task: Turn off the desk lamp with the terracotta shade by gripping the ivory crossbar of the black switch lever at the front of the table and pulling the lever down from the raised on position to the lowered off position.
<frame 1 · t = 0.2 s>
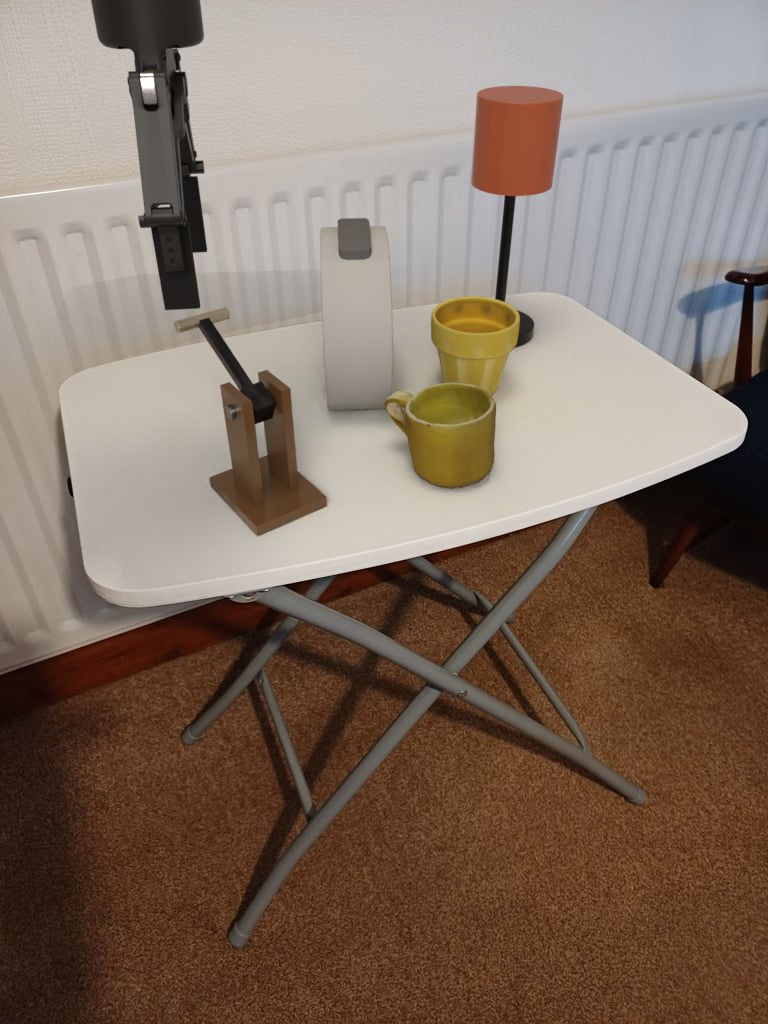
hand: (188, 277, 68), 23 cm above the table, tool pointing down, fingers open, 13 cm apart
flower pot: (470, 388, 98), on the table
mug: (436, 463, 85), on the table
wooden lever stand: (267, 496, 80), on the table
switch lever: (231, 363, 75), point 13 cm above the table, hinge at 25.0°
lamp: (497, 332, 110), on the table
alarm clock: (357, 383, 99), on the table
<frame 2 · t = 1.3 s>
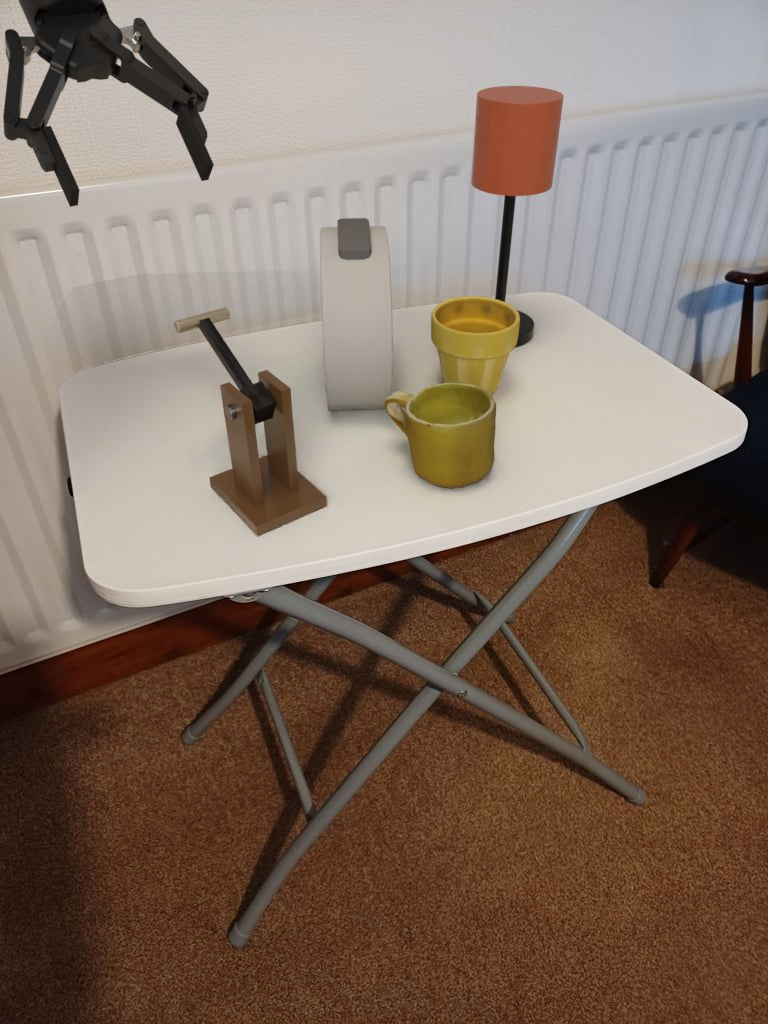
hand: (144, 185, 77), 26 cm above the table, tool tilted 45°, fingers open, 13 cm apart
nothing on the table moved.
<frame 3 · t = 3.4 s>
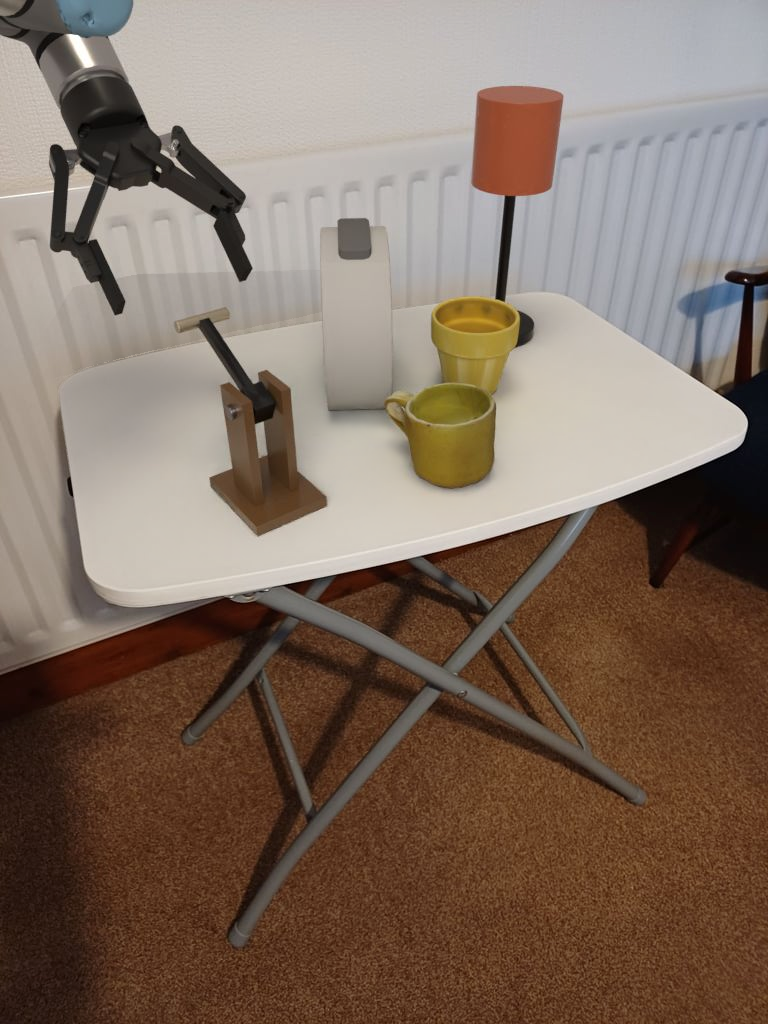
hand: (185, 291, 78), 17 cm above the table, tool tilted 45°, fingers open, 13 cm apart
nothing on the table moved.
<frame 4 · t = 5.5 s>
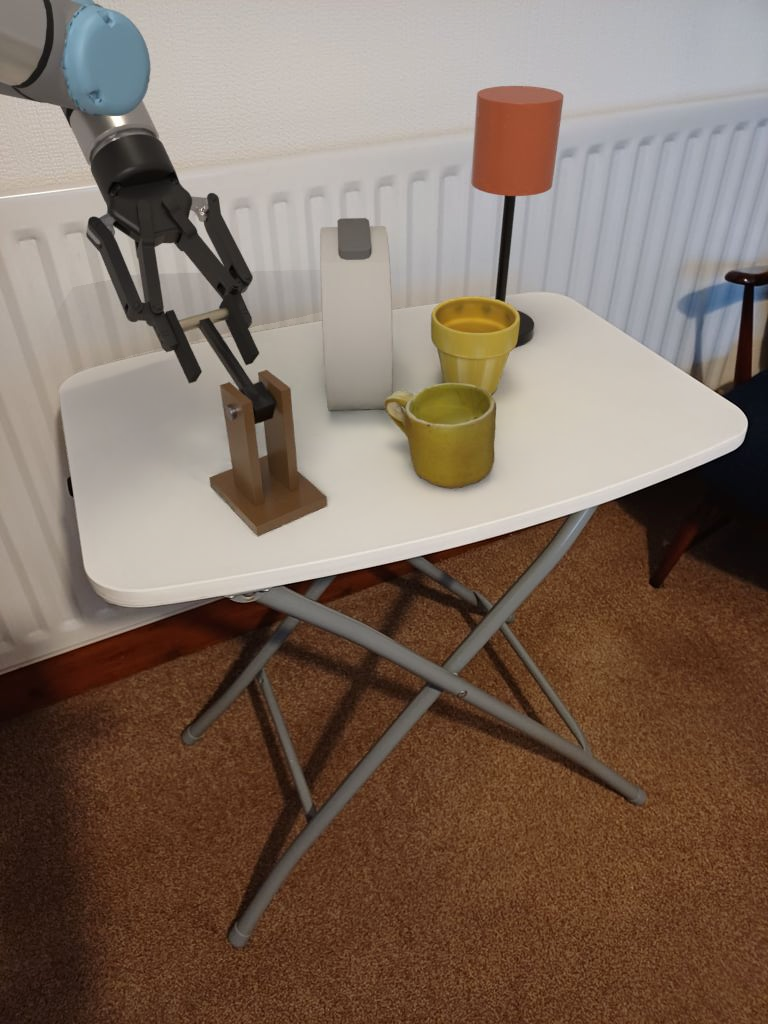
hand: (224, 367, 77), 12 cm above the table, tool tilted 45°, fingers closed on switch lever, 5 cm apart
switch lever: (231, 363, 75), point 13 cm above the table, hinge at 25.0°, touching gripper
everything else where it was.
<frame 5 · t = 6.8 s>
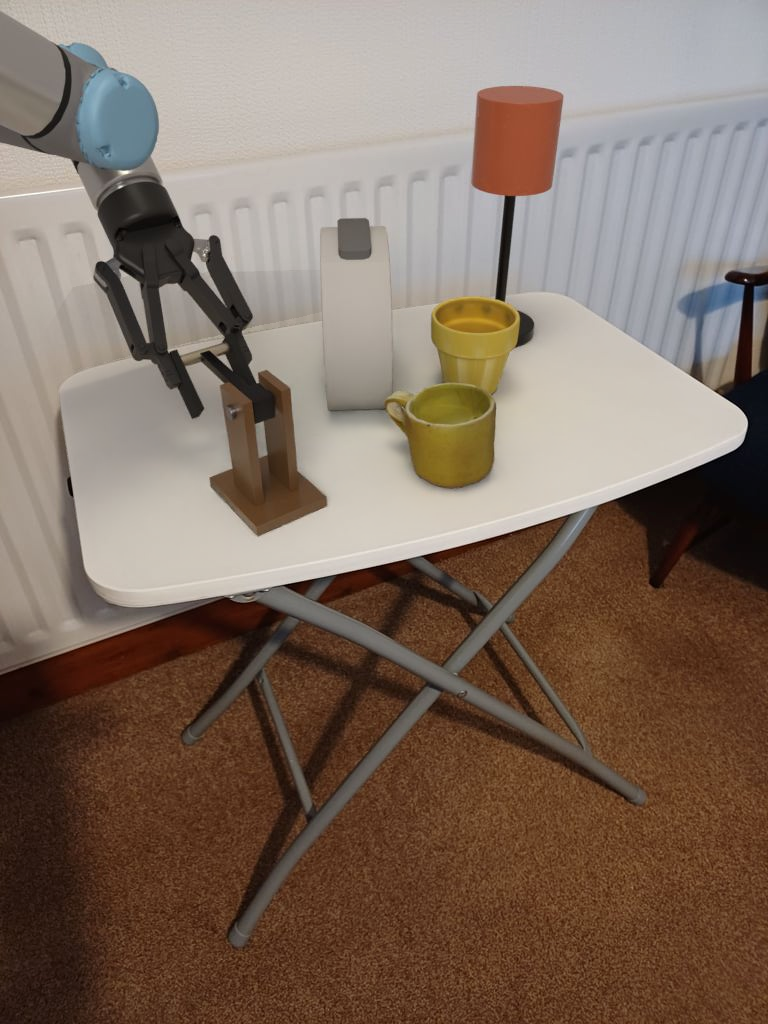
hand: (225, 403, 80), 7 cm above the table, tool tilted 45°, fingers closed on switch lever, 5 cm apart
switch lever: (231, 379, 77), point 11 cm above the table, hinge at 2.4°, touching gripper
everything else where it was.
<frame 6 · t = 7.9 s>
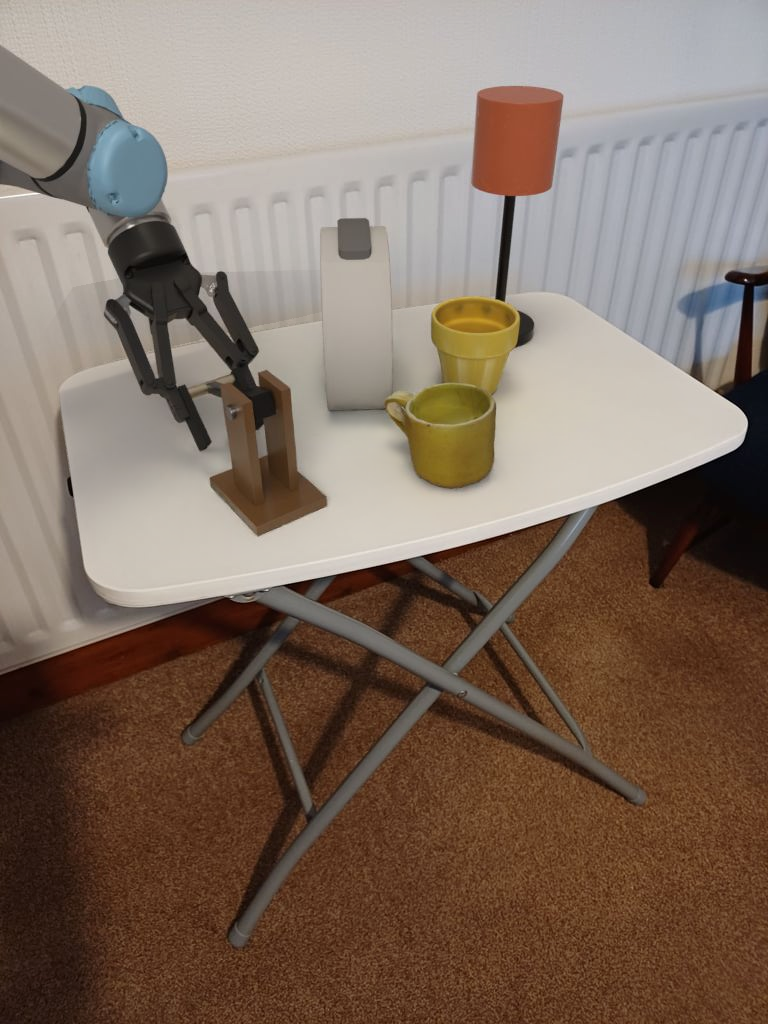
hand: (232, 436, 82), 4 cm above the table, tool tilted 45°, fingers closed on switch lever, 6 cm apart
switch lever: (234, 395, 78), point 10 cm above the table, hinge at -16.1°, touching gripper
everything else where it was.
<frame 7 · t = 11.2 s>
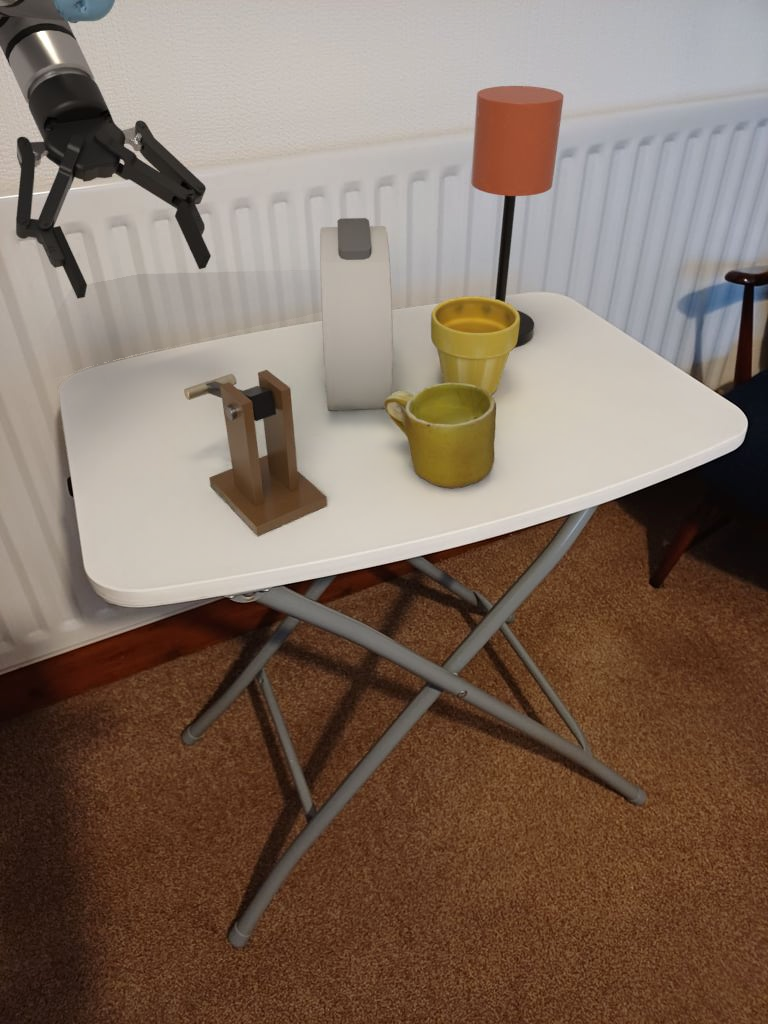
hand: (146, 277, 82), 17 cm above the table, tool tilted 45°, fingers open, 13 cm apart
switch lever: (234, 395, 78), point 10 cm above the table, hinge at -16.1°
everything else where it was.
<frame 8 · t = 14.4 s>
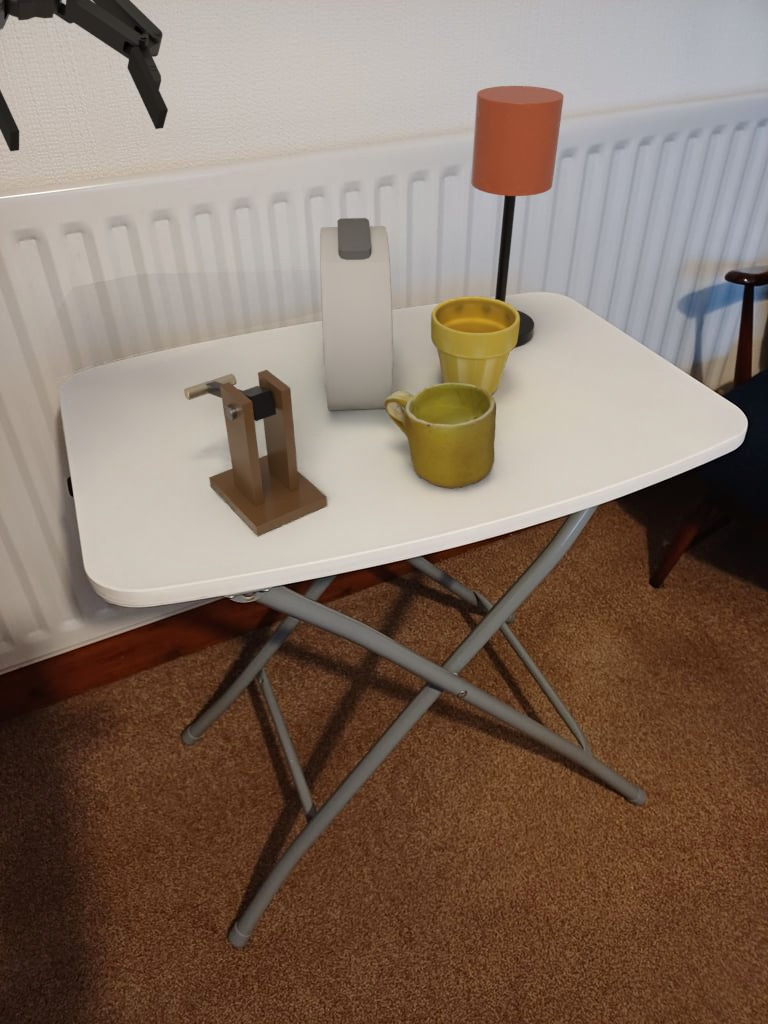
hand: (91, 130, 71), 32 cm above the table, tool tilted 45°, fingers open, 13 cm apart
nothing on the table moved.
at the end: switch lever at -16° (first picture: +25°); the gripper is holding nothing; switch lever touching nothing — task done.
